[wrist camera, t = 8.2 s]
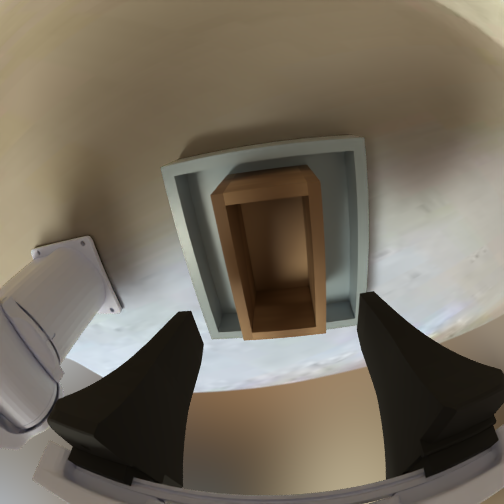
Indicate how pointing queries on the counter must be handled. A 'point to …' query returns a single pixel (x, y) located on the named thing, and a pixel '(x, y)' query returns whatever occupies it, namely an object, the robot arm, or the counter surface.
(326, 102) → the counter surface
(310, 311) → the walnut crate
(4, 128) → the counter surface
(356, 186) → the grey crate
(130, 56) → the counter surface
